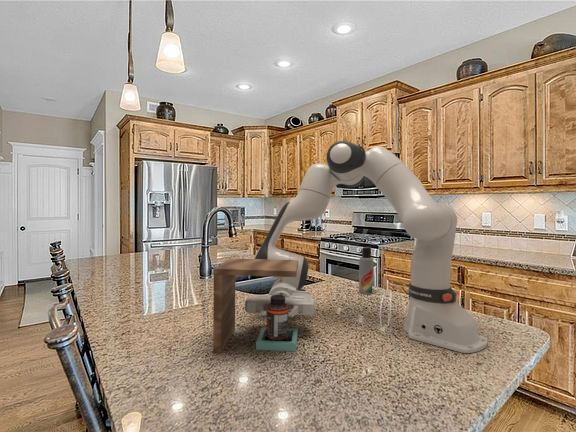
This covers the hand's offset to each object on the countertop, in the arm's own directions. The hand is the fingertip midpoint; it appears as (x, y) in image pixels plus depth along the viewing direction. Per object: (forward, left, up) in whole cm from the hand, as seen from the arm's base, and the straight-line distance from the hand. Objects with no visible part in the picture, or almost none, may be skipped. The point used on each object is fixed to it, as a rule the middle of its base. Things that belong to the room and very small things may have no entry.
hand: (277, 313), depth 92 cm
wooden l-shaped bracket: (+4, +3, -8) cm, 10 cm away
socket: (0, -1, -8) cm, 8 cm away
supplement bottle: (+1, -1, -7) cm, 7 cm away
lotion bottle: (+20, -62, -8) cm, 66 cm away
